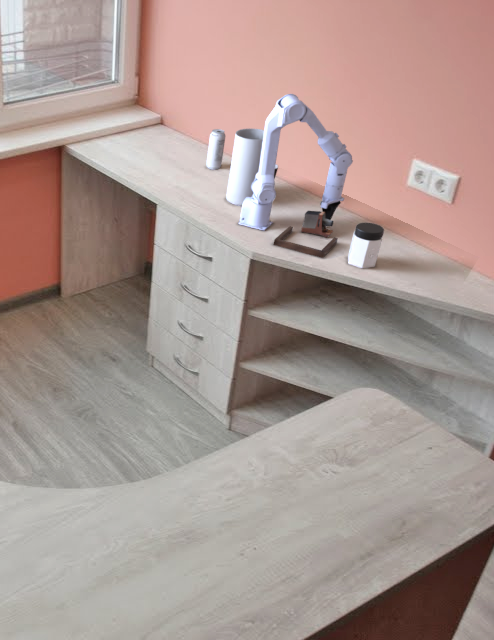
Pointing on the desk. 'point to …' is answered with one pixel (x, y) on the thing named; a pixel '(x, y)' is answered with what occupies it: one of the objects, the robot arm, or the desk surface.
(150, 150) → the desk surface
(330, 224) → the electronic device
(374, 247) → the jar
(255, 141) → the cylinder vase
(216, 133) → the energy drink can
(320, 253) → the frame
